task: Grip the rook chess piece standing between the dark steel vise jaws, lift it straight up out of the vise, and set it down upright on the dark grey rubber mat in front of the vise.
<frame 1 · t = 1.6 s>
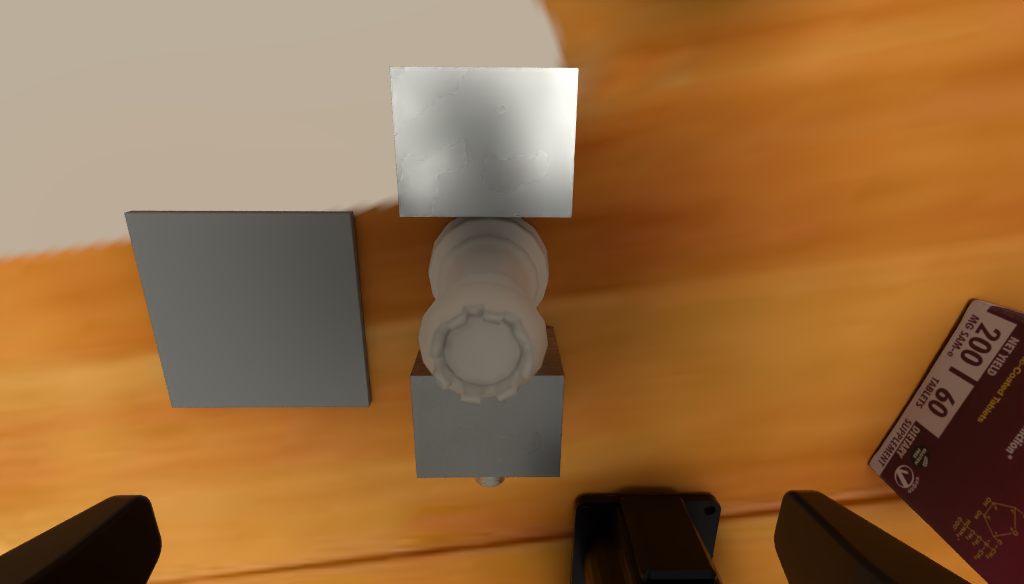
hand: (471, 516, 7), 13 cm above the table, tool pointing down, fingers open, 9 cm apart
vise: (489, 264, 20), on the table
mat: (260, 312, 20), on the table
rook chess piece: (489, 262, 20), on the table
supplement box: (954, 397, 22), on the table
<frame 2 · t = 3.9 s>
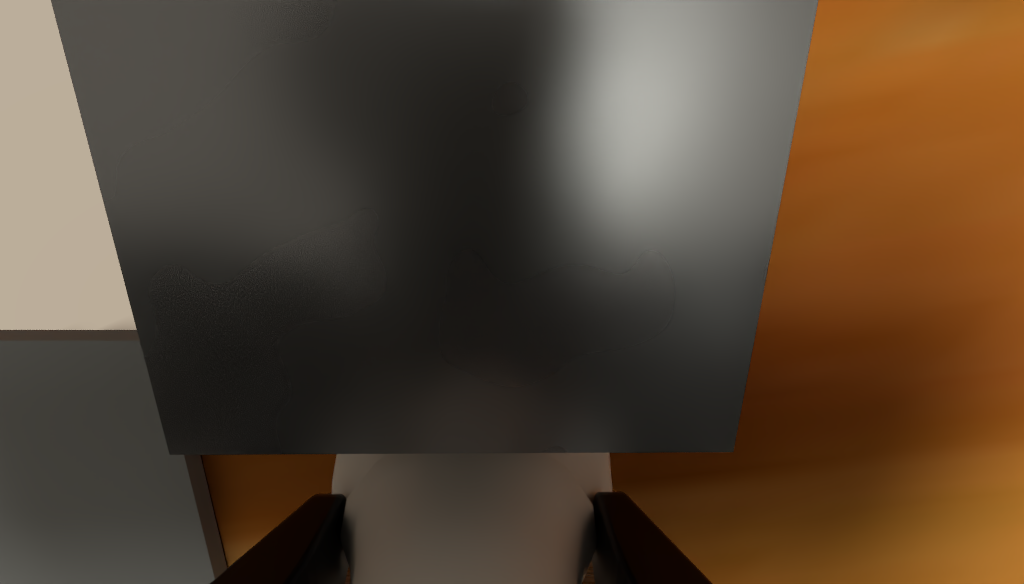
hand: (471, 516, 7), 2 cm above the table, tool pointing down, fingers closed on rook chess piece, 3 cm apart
vise: (477, 432, 9), on the table
mat: (1, 523, 10), on the table
rook chess piece: (478, 425, 9), on the table, touching gripper
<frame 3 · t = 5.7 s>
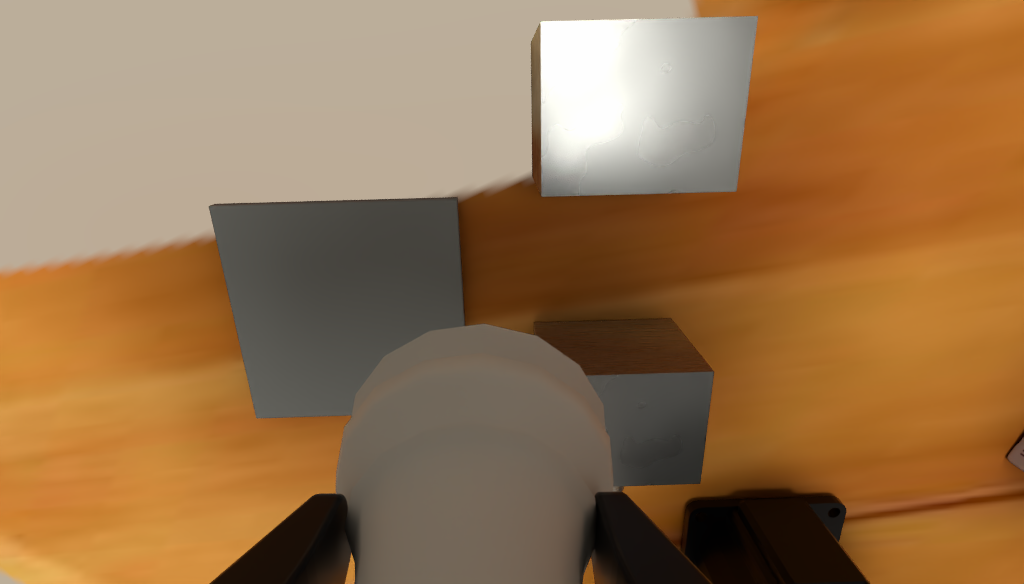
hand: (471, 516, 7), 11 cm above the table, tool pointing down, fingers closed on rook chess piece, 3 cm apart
vise: (605, 251, 18), on the table
mat: (352, 312, 18), on the table
rook chess piece: (480, 419, 9), point 9 cm above the table, touching gripper
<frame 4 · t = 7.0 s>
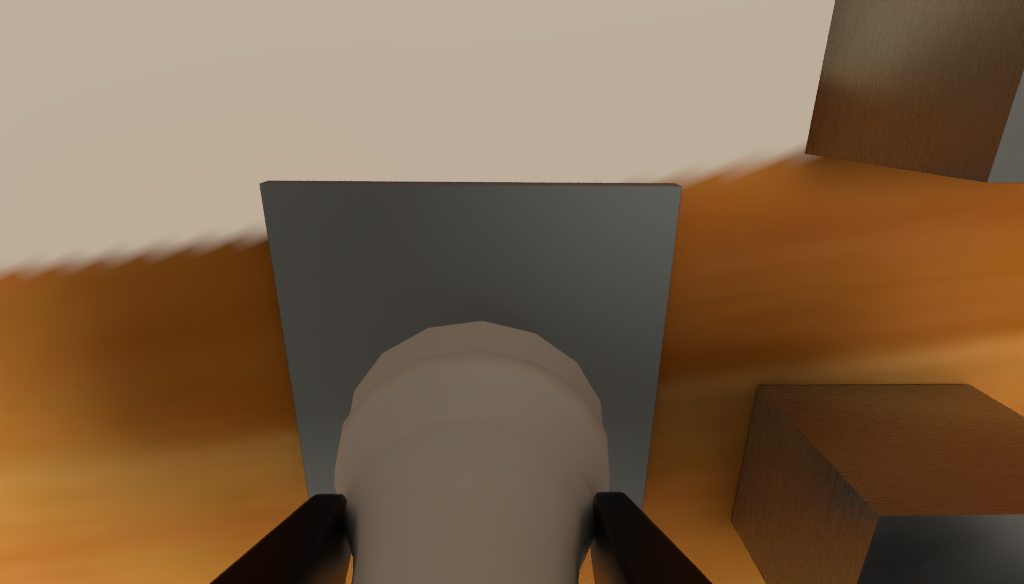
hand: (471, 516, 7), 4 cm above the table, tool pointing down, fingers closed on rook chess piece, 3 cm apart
vise: (894, 279, 11), on the table
mat: (476, 363, 11), on the table
rook chess piece: (478, 416, 10), point 2 cm above the table, touching gripper
when the fingers open (4 cm above the table, at t = 7.8 s): rook chess piece drops 1 cm, resting on mat.
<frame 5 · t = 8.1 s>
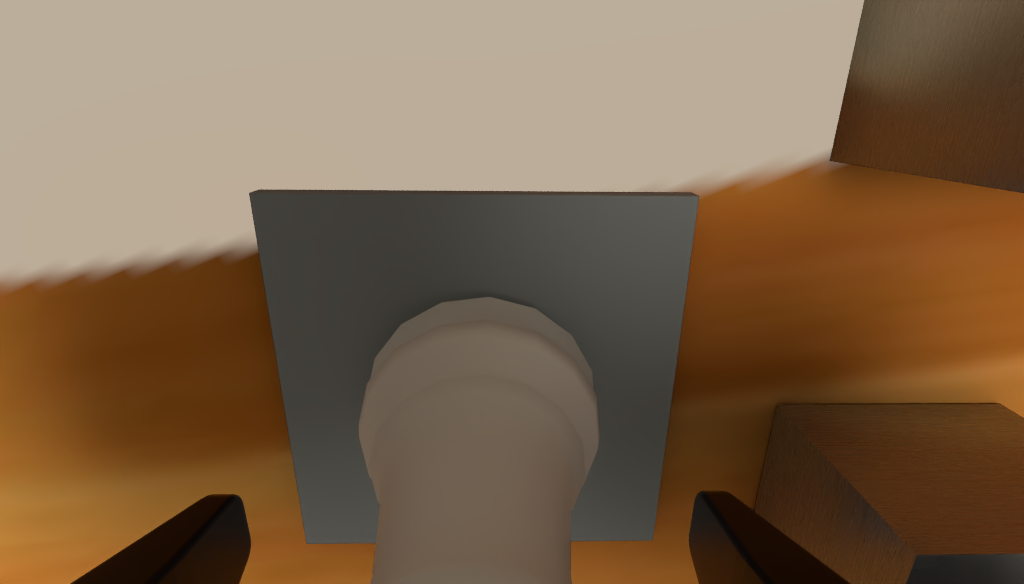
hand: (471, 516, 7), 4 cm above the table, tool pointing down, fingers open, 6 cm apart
vise: (922, 293, 10), on the table
mat: (479, 381, 11), on the table
rook chess piece: (482, 385, 11), resting on mat
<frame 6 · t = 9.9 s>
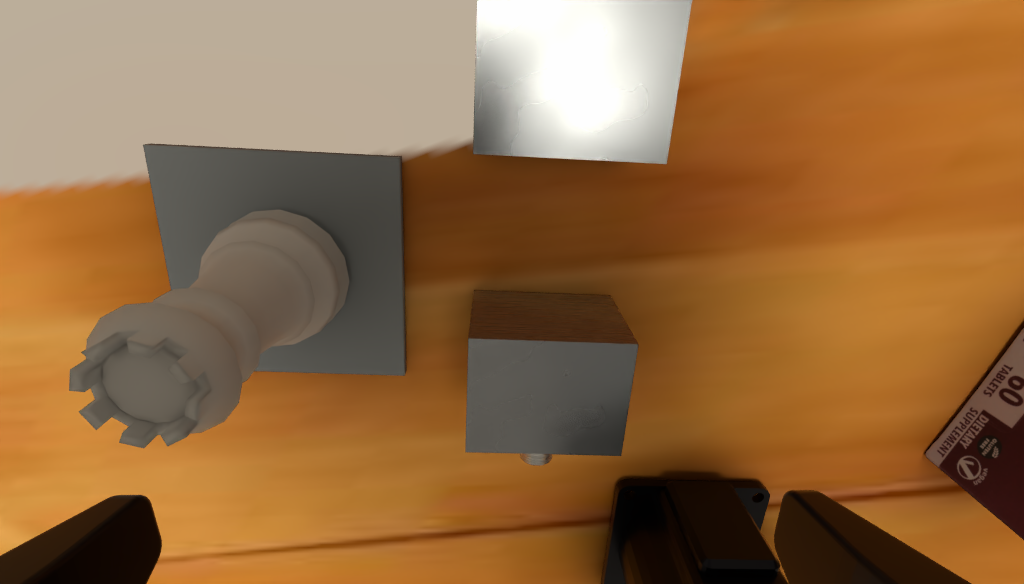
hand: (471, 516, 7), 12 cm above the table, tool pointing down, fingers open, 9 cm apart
vise: (547, 222, 18), on the table
mat: (289, 267, 18), on the table
rook chess piece: (289, 268, 18), resting on mat
supplement box: (1019, 386, 21), on the table
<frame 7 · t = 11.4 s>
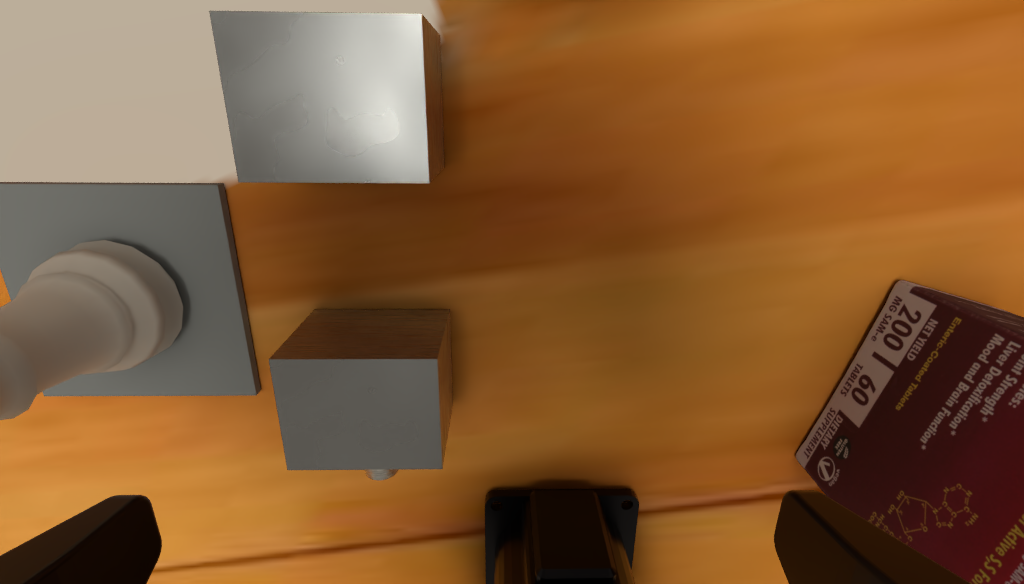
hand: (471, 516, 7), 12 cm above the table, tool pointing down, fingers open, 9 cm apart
vise: (376, 241, 18), on the table
mat: (132, 294, 19), on the table
rook chess piece: (130, 295, 18), resting on mat
supplement box: (883, 384, 21), on the table
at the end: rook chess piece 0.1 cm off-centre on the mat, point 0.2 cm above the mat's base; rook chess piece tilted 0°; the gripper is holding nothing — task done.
